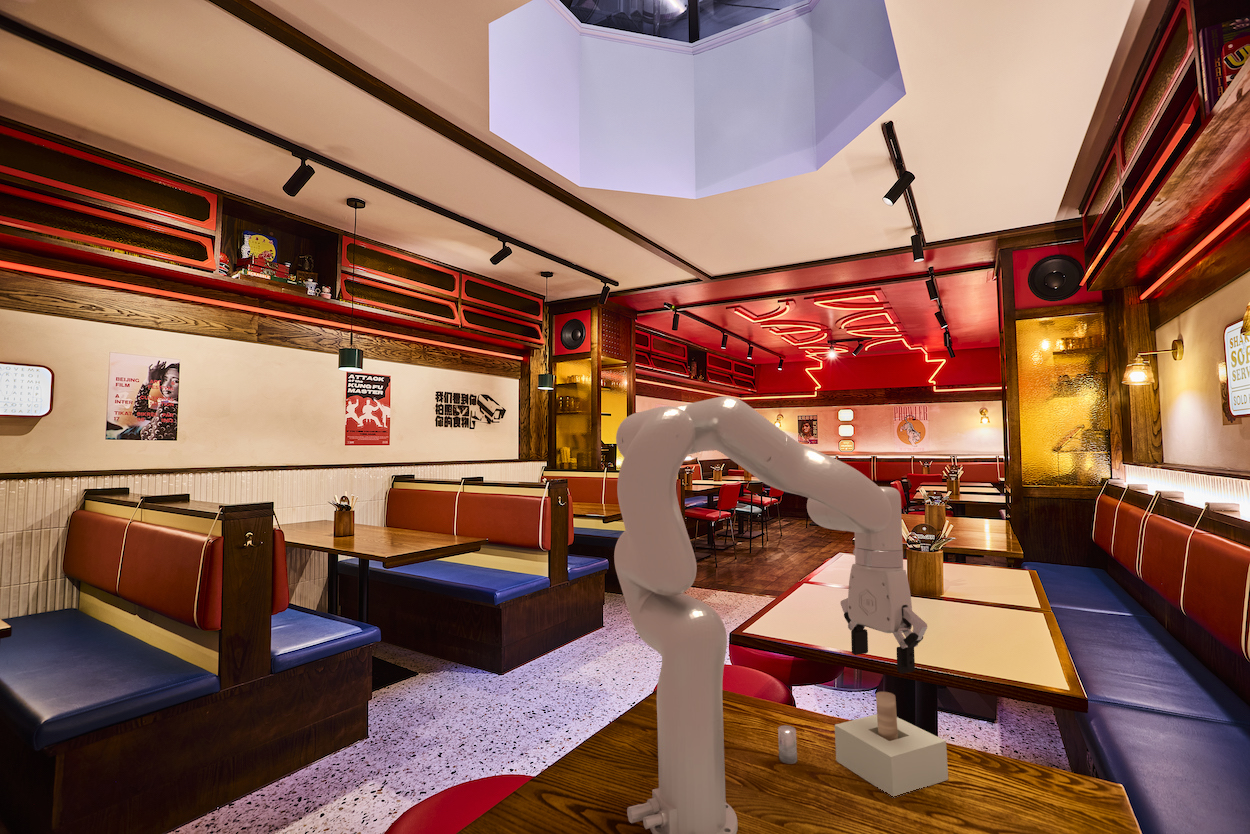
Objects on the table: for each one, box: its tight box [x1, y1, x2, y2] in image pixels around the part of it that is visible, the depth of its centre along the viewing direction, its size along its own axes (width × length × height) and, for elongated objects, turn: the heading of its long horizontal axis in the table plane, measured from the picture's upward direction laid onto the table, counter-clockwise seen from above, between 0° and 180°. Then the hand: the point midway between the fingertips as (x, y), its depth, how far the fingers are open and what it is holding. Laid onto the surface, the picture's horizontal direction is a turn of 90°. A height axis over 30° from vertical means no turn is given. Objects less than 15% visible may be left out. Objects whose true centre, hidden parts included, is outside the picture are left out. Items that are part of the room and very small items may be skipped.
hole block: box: [834, 713, 949, 798], centre depth 96 cm, size 12×12×6 cm
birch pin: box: [875, 691, 898, 741], centre depth 96 cm, size 3×3×12 cm
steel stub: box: [777, 724, 798, 765], centre depth 100 cm, size 3×3×5 cm
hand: (882, 662), depth 97 cm, fingers open, 9 cm apart
